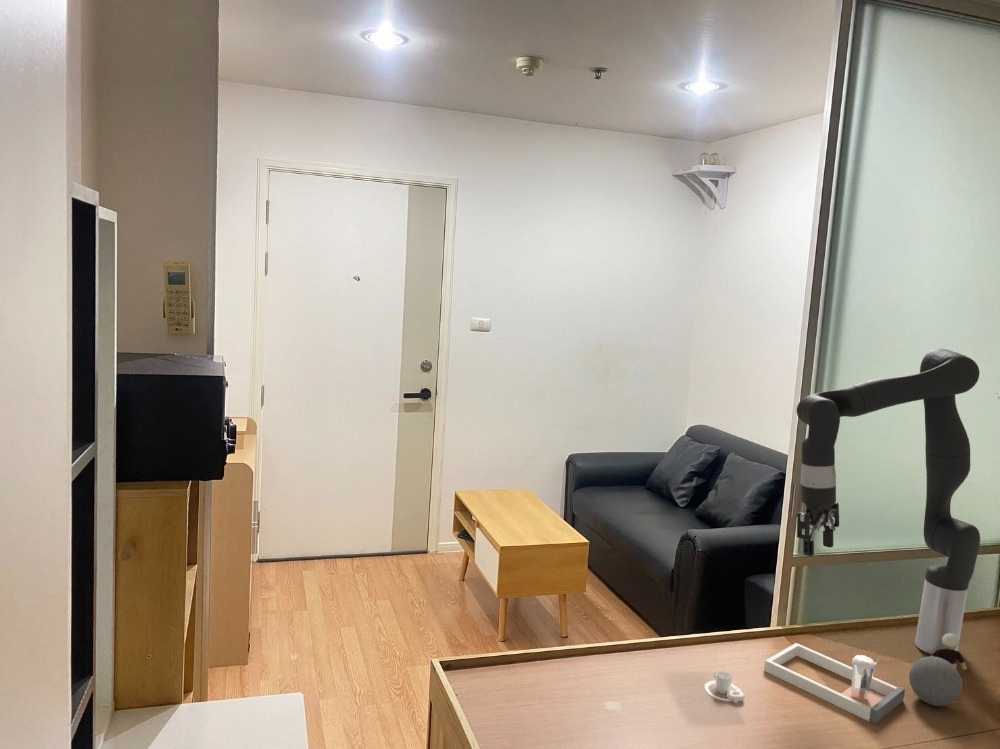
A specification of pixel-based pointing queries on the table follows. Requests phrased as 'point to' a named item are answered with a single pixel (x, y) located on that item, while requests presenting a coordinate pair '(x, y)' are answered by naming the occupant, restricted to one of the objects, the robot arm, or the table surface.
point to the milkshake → (862, 676)
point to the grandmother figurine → (950, 651)
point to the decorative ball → (935, 681)
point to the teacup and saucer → (725, 687)
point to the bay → (866, 709)
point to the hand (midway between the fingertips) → (818, 551)
